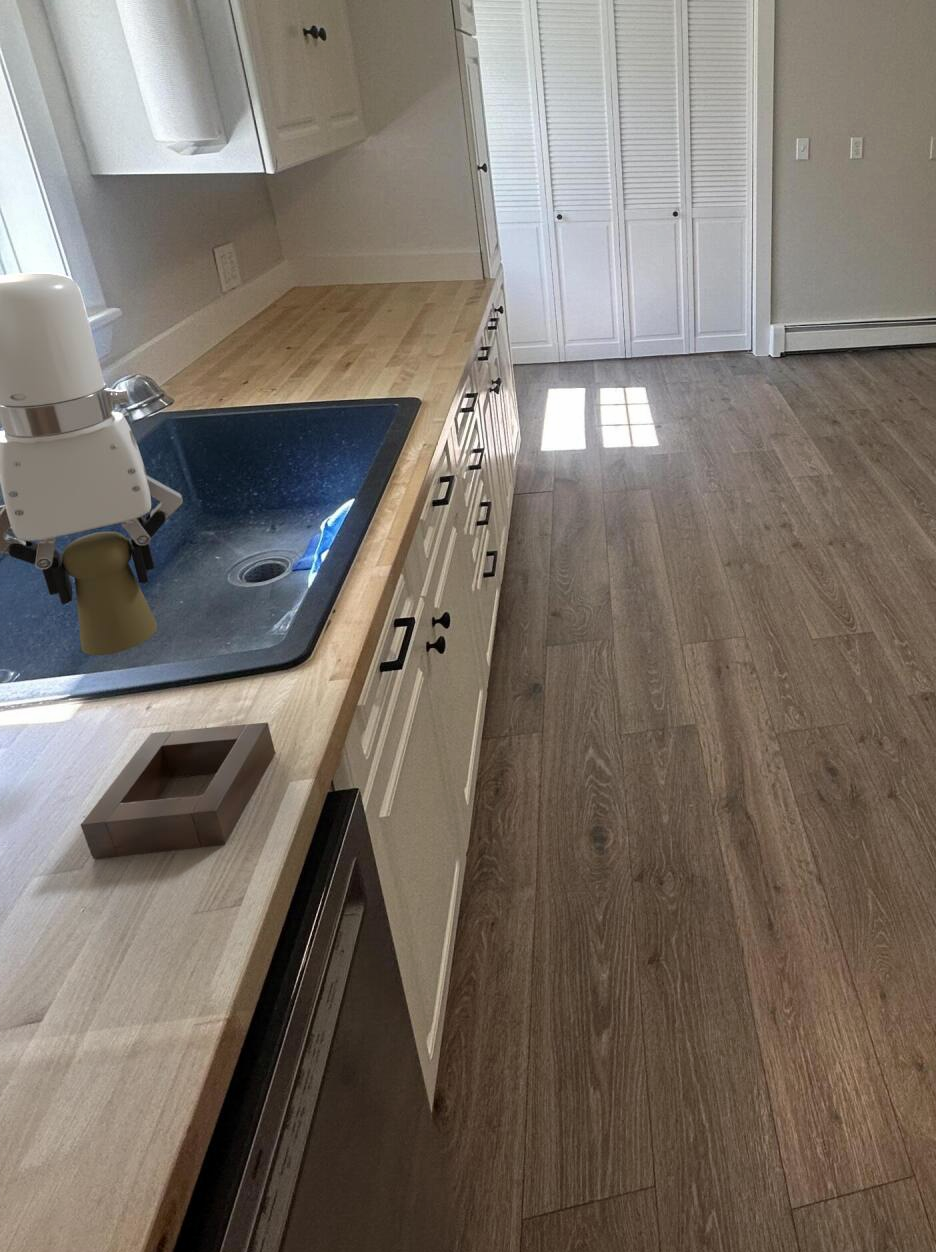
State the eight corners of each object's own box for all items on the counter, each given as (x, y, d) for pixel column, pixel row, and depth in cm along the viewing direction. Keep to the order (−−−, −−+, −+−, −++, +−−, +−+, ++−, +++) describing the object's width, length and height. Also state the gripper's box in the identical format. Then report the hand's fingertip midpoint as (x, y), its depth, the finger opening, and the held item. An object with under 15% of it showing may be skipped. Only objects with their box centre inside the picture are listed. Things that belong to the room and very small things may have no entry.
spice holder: (92, 859, 69) (80, 825, 68) (161, 764, 79) (151, 732, 78) (225, 844, 71) (215, 810, 69) (275, 753, 81) (268, 721, 79)
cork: (119, 658, 75) (90, 558, 72) (64, 651, 76) (33, 551, 73) (172, 621, 81) (148, 526, 77) (121, 615, 82) (95, 520, 78)
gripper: (170, 384, 79) (206, 545, 84) (-69, 419, 69) (-9, 599, 74) (176, 405, 73) (214, 575, 79) (-84, 447, 63) (-17, 638, 69)
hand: (105, 585), depth 77 cm, fingers closed on cork, 5 cm apart
